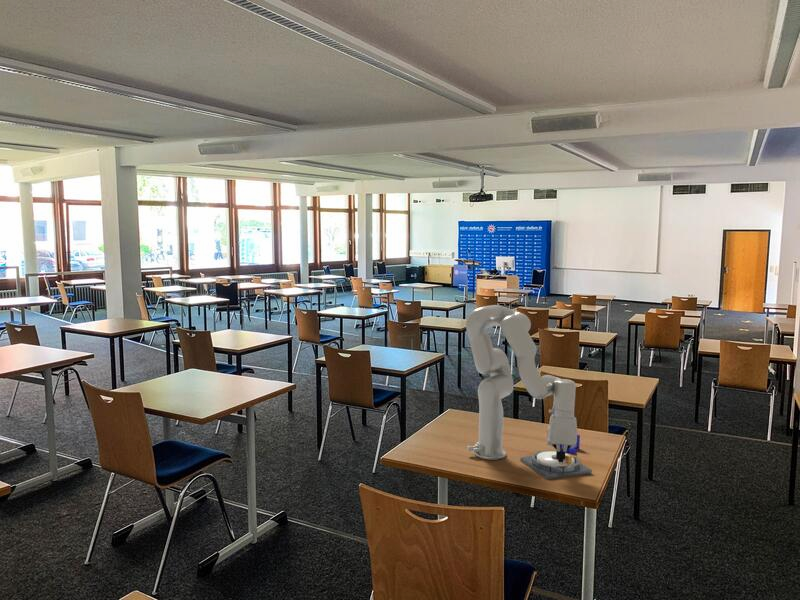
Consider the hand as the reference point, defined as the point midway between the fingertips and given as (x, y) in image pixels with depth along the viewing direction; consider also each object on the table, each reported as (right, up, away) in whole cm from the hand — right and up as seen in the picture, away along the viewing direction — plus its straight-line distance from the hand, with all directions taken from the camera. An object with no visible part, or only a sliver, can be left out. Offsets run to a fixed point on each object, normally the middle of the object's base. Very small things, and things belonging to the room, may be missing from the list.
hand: (560, 460), depth 217 cm
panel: (0, -4, +6) cm, 7 cm away
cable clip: (+11, -3, +23) cm, 26 cm away
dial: (0, -2, +6) cm, 6 cm away
